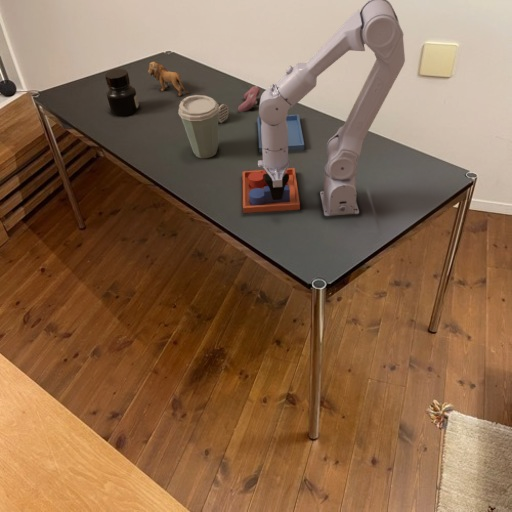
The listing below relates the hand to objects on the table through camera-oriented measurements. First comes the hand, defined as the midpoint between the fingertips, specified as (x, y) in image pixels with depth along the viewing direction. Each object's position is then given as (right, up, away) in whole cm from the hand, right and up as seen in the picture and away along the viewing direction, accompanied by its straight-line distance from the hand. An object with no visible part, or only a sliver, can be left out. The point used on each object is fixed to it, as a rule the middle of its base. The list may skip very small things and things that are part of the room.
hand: (276, 194), depth 120 cm
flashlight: (-21, +28, +35) cm, 50 cm away
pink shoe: (-7, +32, +39) cm, 51 cm away
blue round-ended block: (-2, -1, +1) cm, 2 cm away
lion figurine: (-34, +41, +50) cm, 73 cm away
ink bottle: (-47, +32, +42) cm, 70 cm away
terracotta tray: (-1, +1, +4) cm, 4 cm away
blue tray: (+2, +19, +24) cm, 31 cm away
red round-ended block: (-2, +3, +6) cm, 7 cm away
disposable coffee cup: (-19, +14, +20) cm, 31 cm away
